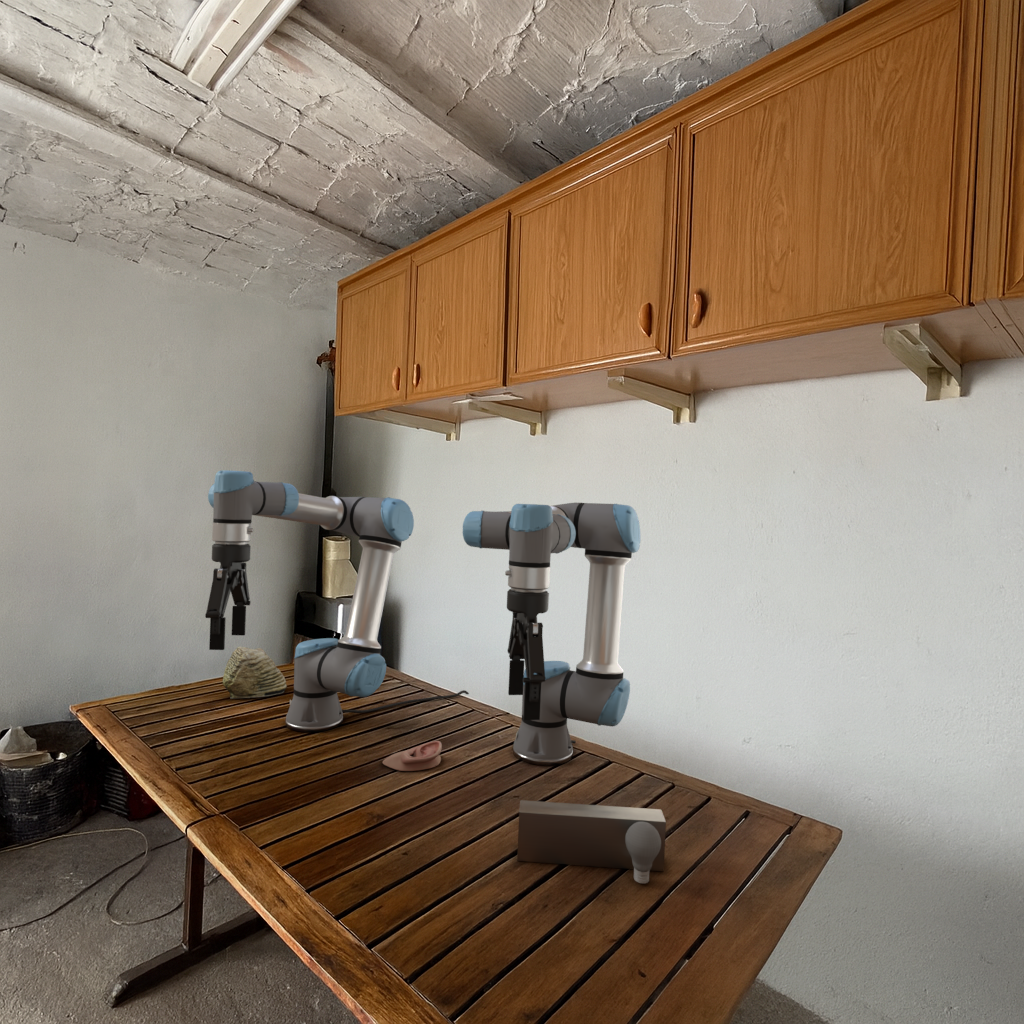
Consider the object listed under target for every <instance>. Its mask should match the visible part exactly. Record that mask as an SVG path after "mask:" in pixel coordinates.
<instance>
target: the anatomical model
mask: <svg viewBox="0 0 1024 1024" xmlns="http://www.w3.org/2000/svg"><path fill="white" fill-rule="evenodd" d="M442 751H443V744H442V742H441V741H439V740H434V741H429V742H426V743H423V744H420V745H417V746H414V747H412V748H410V749H407V750H402V751H399V752H394V753H393V754H390V755H388V756H387V757H386V758H384V760H382V764H383V765H384V766H385V767H388V768H390V769H393V770H396V771H400V772H413V771H422V770H428V769H432V768H435V767H437V766H439V764H441V761H442V757H441V755H440V754H441V752H442Z"/></svg>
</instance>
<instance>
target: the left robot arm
mask: <svg viewBox="0 0 1024 1024" xmlns="http://www.w3.org/2000/svg"><path fill="white" fill-rule="evenodd" d="M207 501H208V503H209V505H210V507H211V508H213V509H212V510H213V511H212V512H213V514H212V515H213V518H212V519H213V520H212V532H211V533H212V534H211V540H212V541H213V542H214V543H213V544H212V545H211V561H213V562H215V563H219V564H220V565H219V568H215V567H214V569H213V573H212V583H211V587H210V591H209V596H208V602H207V607H206V612H205V615H204V616H205V617H204V618H205V619H210V622H209V645H208V646H209V647H208V648H209V649H208V650H209V651H224V650H225V649H226V647H225V646H226V644H225V643H226V641H225V640H226V619H227V618H226V617H225V613H226V609H227V606H228V603H229V599H230V595H231V598H232V600H233V606H232V608H231V609H232V611H231V636H245V635H246V621H247V619H246V618H247V606H251V603H252V601H251V598H250V590H249V582H248V574H247V562H249V561H250V560H251V545H250V543H249V542H250V541H251V538H252V537H251V536H252V533H254V527H252V520H253V519H252V518H253V516H255V517H262V518H269V519H277V520H284V521H291V522H298V523H302V524H303V523H305V524H311V525H316V526H317V525H318V526H320V527H321V528H323V529H324V530H327V531H333V532H338V533H342V534H345V535H348V536H352V537H357V538H358V543H359V544H360V546H361V547H362V551H361V556H360V561H359V566H358V571H357V575H356V581H355V585H354V591H353V594H352V595H353V596H352V600H351V605H350V610H349V614H348V619H347V625H346V628H345V634H344V635H343V636H342V637H341V638H339V639H338V638H335V637H326V638H323V637H322V638H313V639H308V640H304V641H302V642H299V643H298V644H297V645H296V647H295V652H294V653H295V654H294V657H293V659H294V660H293V662H294V663H293V665H294V666H293V695H292V696H293V697H292V699H289V708H288V711H287V713H286V715H285V726H286V728H287V729H289V730H291V731H294V732H295V731H296V732H301V733H316V732H325V731H329V730H332V729H335V728H337V727H339V726H340V725H342V723H343V722H344V714H343V713H347V714H349V713H351V714H353V713H354V714H365V713H372V712H377V711H381V710H384V709H389V708H392V707H397V706H402V705H406V704H407V705H408V704H413V703H420V702H427V701H435V700H441V699H442V700H443V699H451V698H455V697H458V696H460V695H463V694H465V695H470V693H469V692H468V691H467V690H460V691H459V692H457V693H455V694H454V693H453V694H448V695H440V696H439V695H438V696H431V697H423V698H416V699H408V700H404V701H399V702H394V703H390V704H385V705H382V706H377V707H373V708H369V709H342V706H341V702H340V699H339V695H338V693H339V694H344V695H347V696H349V697H357V698H367V697H370V696H372V695H373V694H374V693H375V692H376V691H377V690H378V689H379V688H380V687H381V685H382V683H383V682H384V680H385V677H386V673H387V663H386V660H385V657H384V656H382V655H381V651H382V645H381V644H380V643H379V642H378V641H379V640H378V637H379V631H380V626H381V620H382V617H383V610H384V607H385V602H386V601H385V600H386V596H387V591H388V586H389V580H390V575H391V571H392V566H393V560H394V555H395V553H397V552H398V551H400V550H401V547H402V542H405V541H406V540H408V539H409V538H410V537H411V536H412V534H413V531H414V527H415V520H414V515H413V512H412V510H411V507H410V506H409V504H408V503H407V502H406V501H405V500H402V499H400V498H393V497H390V496H388V497H379V496H377V497H376V496H371V497H370V496H336V495H329V496H326V497H321V496H316V495H311V494H306V493H299V491H298V489H297V487H295V486H294V485H293V484H292V483H287V482H283V481H257V480H256V481H255V480H254V474H253V473H252V472H251V471H245V470H230V469H229V470H228V469H227V470H226V469H225V470H224V469H223V470H222V469H221V470H218V471H217V472H216V473H215V475H214V483H213V484H212V485H211V486H210V487H209V490H208V494H207Z"/></svg>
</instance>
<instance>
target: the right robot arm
mask: <svg viewBox="0 0 1024 1024" xmlns="http://www.w3.org/2000/svg"><path fill="white" fill-rule="evenodd" d="M462 537H463V540H464V542H465V544H466V545H467V546H469V547H471V548H479V549H492V550H508V551H509V552H508V553H509V554H508V555H509V556H508V569H507V570H505V573H504V574H505V576H506V577H507V586H508V587H509V588H510V589H508V590H507V591H506V609H507V610H508V611H509V612H511V613H512V621H511V628H510V634H509V639H508V647H507V654H509V655H508V658H509V668H508V669H509V670H508V671H509V672H508V696H522V697H521V721H520V725H519V727H518V730H516V733H515V739H514V741H513V746H512V754H513V756H515V757H516V758H517V759H518V760H520V761H522V762H524V763H528V764H532V765H535V766H558V765H563V764H565V763H568V762H569V761H571V760H572V758H573V756H574V747H573V746H574V745H575V744H576V743H577V741H576V740H574V739H571V735H570V731H569V727H568V720H572V721H573V720H574V721H579V722H584V723H588V724H594V725H597V726H598V727H599V726H604V727H605V726H606V727H617V726H618V725H619V724H621V721H622V720H623V718H624V716H625V713H626V711H627V708H628V703H629V699H630V694H631V683H630V680H629V679H627V678H626V677H624V669H623V668H622V667H621V665H620V664H619V652H620V639H621V638H620V637H621V622H622V608H623V595H624V582H625V581H624V580H625V568H626V566H627V564H628V563H629V562H631V561H632V554H635V553H637V552H639V550H640V546H641V545H640V544H641V526H640V520H639V517H638V513H637V511H636V510H635V508H634V507H632V506H631V505H627V504H619V503H597V502H594V503H593V502H567V503H561V504H554V505H549V504H535V503H515V504H513V506H512V507H511V511H510V510H507V511H506V510H505V511H504V510H503V511H487V510H473V511H470V512H468V513H467V514H466V515H465V517H464V520H463V523H462ZM570 548H575V549H584V557H585V559H587V561H588V562H589V575H588V587H587V601H586V614H585V627H584V640H583V642H584V643H583V654H582V660H581V661H579V662H578V663H577V664H576V666H575V670H571V666H570V663H568V662H567V661H563V660H545V656H544V653H545V652H544V641H543V628H544V624H543V622H538V615H539V614H545V613H547V612H548V611H549V603H550V602H549V600H550V593H549V592H548V589H550V588H551V587H550V586H551V556H552V554H560V553H562V552H565V551H567V550H569V549H570ZM573 744H574V745H573Z"/></svg>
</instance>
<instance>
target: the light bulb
mask: <svg viewBox="0 0 1024 1024" xmlns="http://www.w3.org/2000/svg"><path fill="white" fill-rule="evenodd" d="M625 842H626V846H627V849H628V851H629V853H630V855H631V857H632V863H633V866H634V869H633V879H634V882H636V883H639V884H648V883H649V882H650V872H651V870H650V869H651V867H652V862H653V860H654V859H655V857H656V856H657V855H658V853H659V851H660V848H661V838H660V835H659V833H658V831H657V830H656V829H655V827H654V826H652V825H651V824H649V823H647V822H636V823H634V824H633V825H632V826H630V828H629V829H628V831H627V833H626V837H625Z"/></svg>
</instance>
